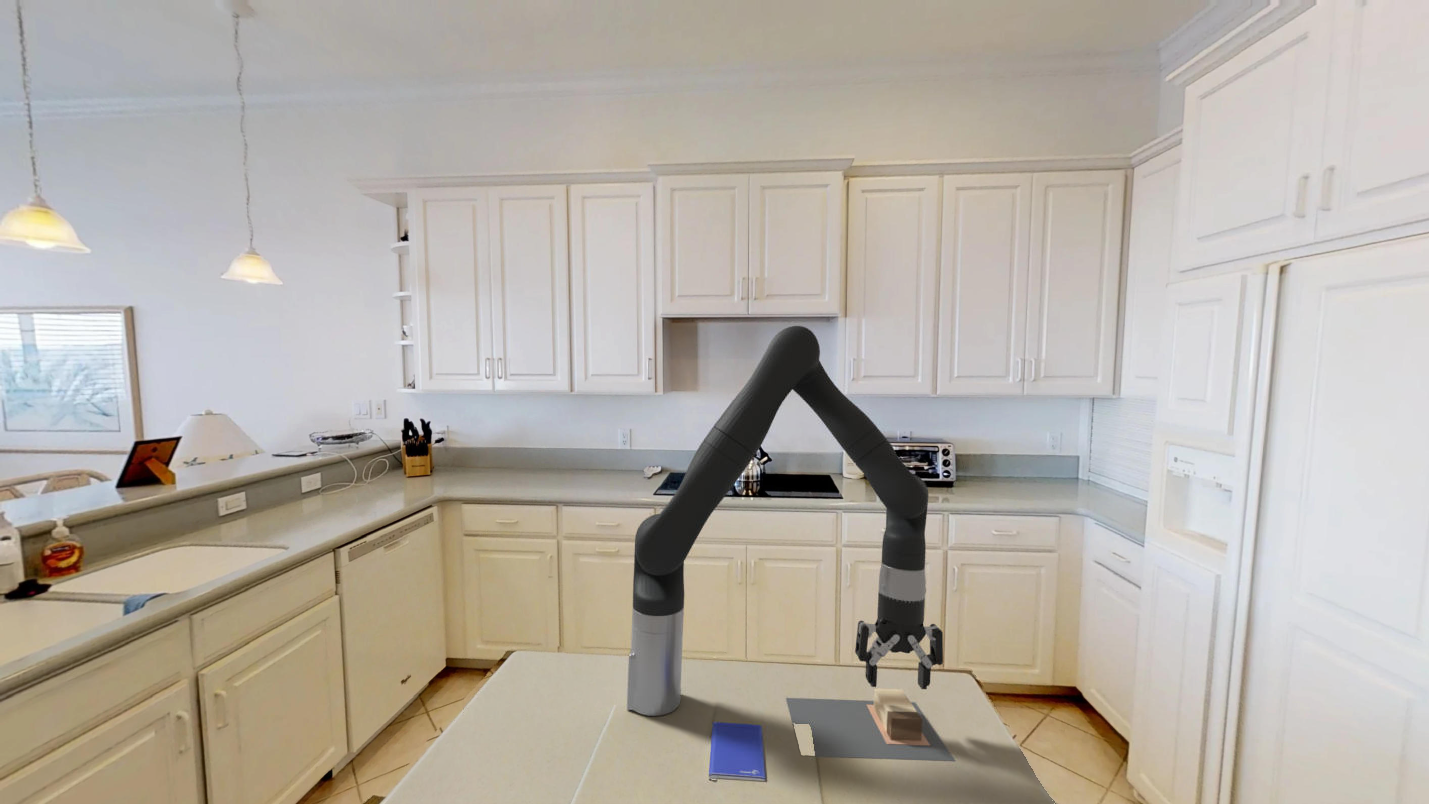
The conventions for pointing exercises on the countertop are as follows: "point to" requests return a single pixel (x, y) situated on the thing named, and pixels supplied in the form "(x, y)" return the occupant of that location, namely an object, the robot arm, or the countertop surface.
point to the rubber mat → (861, 731)
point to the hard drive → (737, 752)
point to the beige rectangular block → (897, 714)
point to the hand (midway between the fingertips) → (897, 685)
